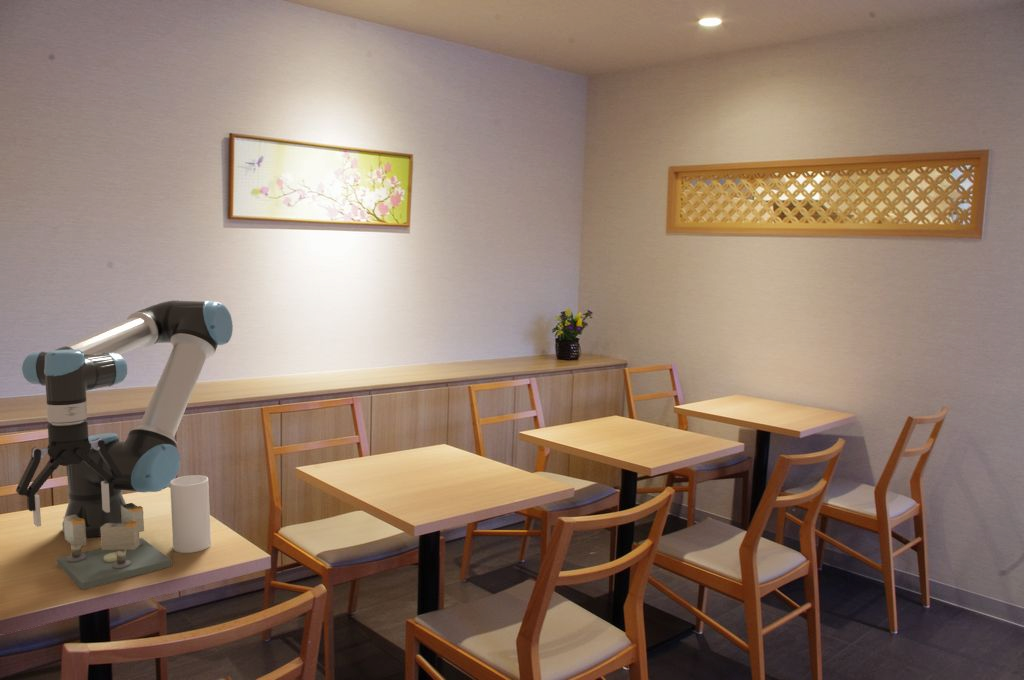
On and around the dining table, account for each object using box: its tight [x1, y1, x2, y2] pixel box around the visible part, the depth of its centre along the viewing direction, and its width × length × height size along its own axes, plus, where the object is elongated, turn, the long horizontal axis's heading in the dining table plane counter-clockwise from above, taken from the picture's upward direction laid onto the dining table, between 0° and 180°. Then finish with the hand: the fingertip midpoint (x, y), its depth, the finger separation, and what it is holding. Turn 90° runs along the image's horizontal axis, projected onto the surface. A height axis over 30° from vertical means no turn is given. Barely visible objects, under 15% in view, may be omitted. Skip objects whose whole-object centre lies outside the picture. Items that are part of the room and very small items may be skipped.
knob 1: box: [100, 521, 140, 564], centre depth 171 cm, size 7×2×9 cm, turn 91°
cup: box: [169, 474, 212, 554], centre depth 186 cm, size 8×8×16 cm
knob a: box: [63, 515, 87, 557], centre depth 174 cm, size 7×2×9 cm, turn 44°
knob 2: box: [121, 502, 145, 533], centre depth 182 cm, size 7×2×9 cm, turn 45°
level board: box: [56, 537, 173, 591], centre depth 175 cm, size 18×18×2 cm
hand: (72, 517), depth 173 cm, fingers open, 13 cm apart
